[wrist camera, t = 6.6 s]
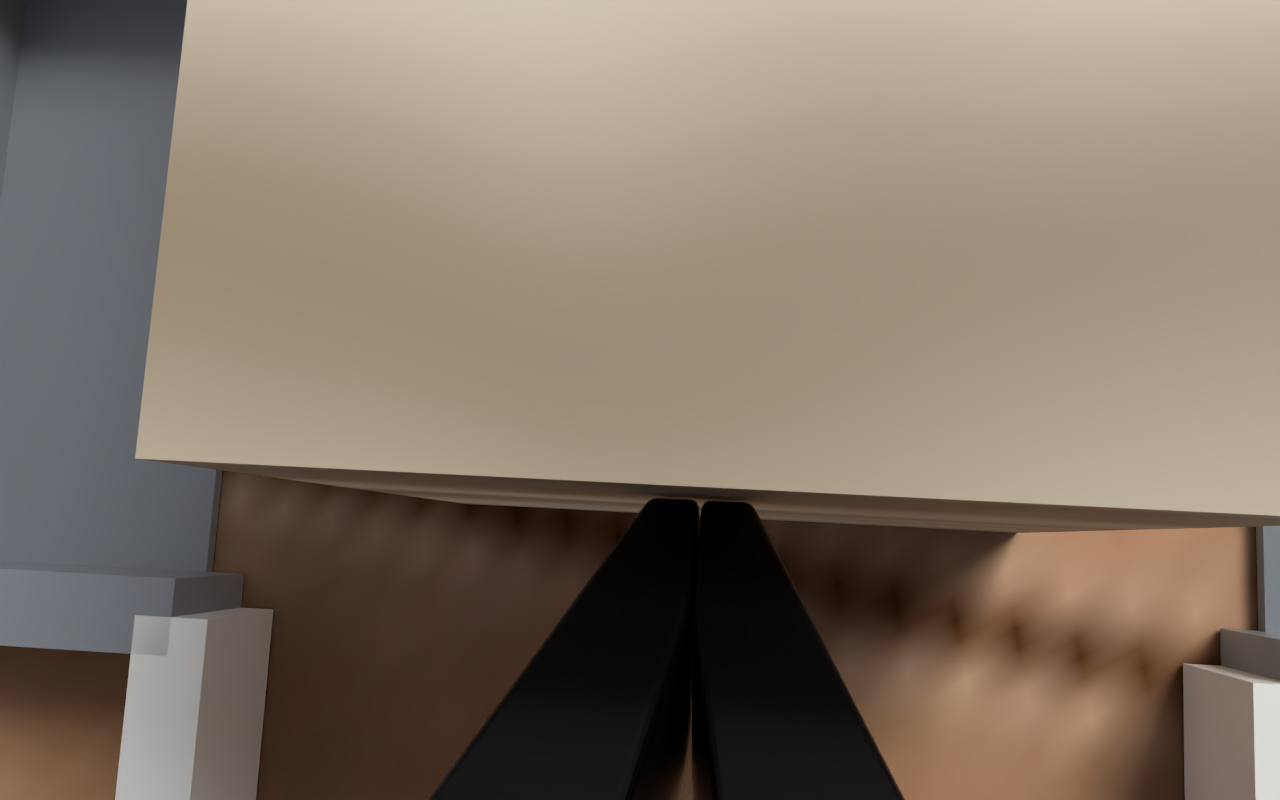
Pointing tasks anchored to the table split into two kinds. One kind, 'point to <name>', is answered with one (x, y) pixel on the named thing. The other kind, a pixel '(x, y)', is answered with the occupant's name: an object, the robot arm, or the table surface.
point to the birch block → (732, 256)
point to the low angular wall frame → (189, 496)
